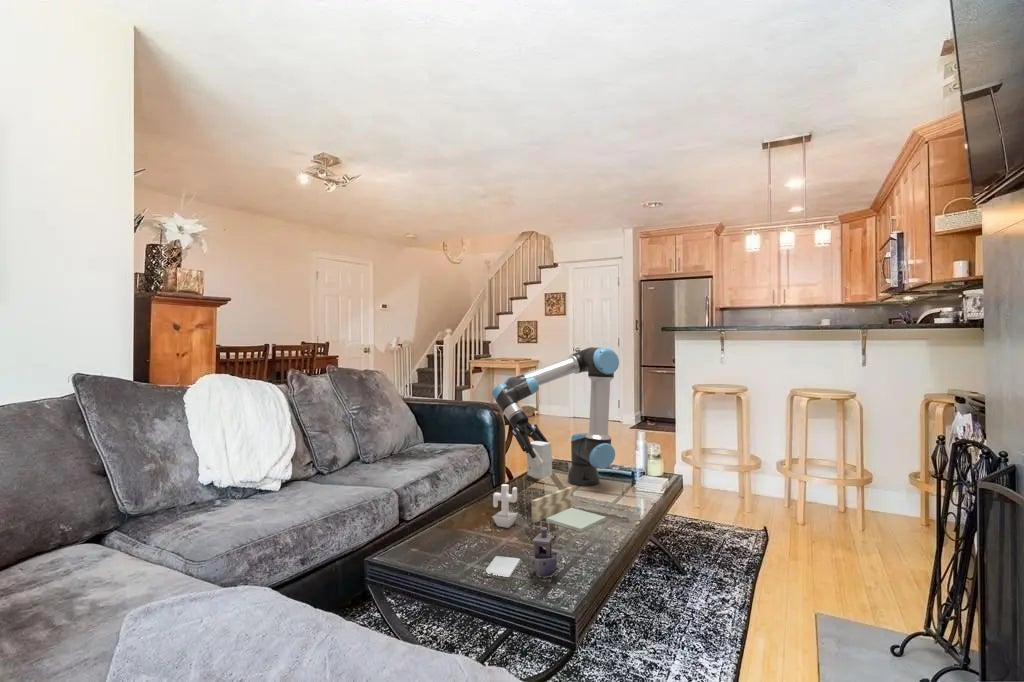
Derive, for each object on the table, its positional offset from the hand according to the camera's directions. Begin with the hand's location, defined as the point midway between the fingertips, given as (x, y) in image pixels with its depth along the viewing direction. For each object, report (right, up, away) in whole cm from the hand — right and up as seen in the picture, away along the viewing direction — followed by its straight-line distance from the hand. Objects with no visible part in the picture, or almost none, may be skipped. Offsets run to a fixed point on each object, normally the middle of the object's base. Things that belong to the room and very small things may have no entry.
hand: (546, 462), depth 200 cm
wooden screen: (+3, -20, -1) cm, 20 cm away
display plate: (+11, -20, -9) cm, 24 cm away
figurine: (-16, -20, -12) cm, 29 cm away
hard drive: (-17, -21, -48) cm, 55 cm away
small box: (-2, -6, +3) cm, 7 cm away
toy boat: (-4, -21, -52) cm, 56 cm away
